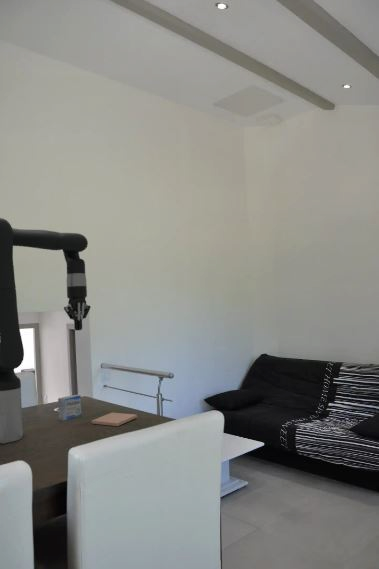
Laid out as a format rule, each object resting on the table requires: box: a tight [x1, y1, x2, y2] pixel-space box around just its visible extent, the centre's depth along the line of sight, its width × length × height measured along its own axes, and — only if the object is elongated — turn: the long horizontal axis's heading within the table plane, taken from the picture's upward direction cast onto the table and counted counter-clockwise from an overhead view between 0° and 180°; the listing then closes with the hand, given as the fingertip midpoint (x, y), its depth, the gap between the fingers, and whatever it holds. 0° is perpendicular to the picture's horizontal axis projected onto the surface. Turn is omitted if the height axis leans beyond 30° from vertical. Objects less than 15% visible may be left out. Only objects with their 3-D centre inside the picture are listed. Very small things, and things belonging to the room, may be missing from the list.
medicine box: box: [57, 394, 82, 421], centre depth 187 cm, size 8×4×9 cm, turn 143°
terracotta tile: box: [91, 412, 138, 427], centre depth 177 cm, size 1×12×12 cm
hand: (78, 330), depth 183 cm, fingers closed
